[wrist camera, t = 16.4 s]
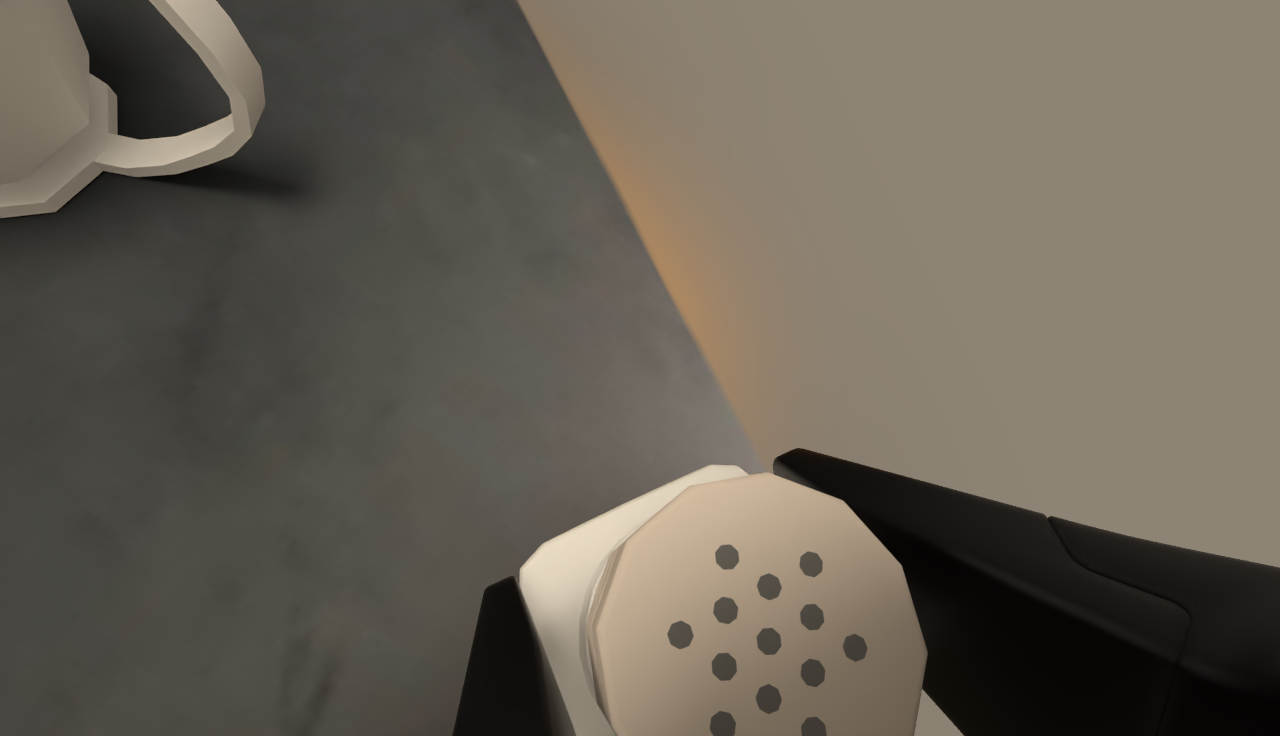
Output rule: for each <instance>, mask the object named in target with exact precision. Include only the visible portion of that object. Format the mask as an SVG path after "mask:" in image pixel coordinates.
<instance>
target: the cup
mask: <svg viewBox="0 0 1280 736" xmlns="http://www.w3.org/2000/svg"><path fill="white" fill-rule="evenodd" d="M149 1H150V2H151V3H152V4H153V5H154V6H155V7H156V9H157V10H158V11H159V12H160V13H161V14H162V15H163V16H164V17H165V18H166V20H167V21H168V22H169V23H170V24H171V25H172V26H173V27H174V28H175V29H176V31H177V32H178V33H179V34H180V35H181V36H182V37H183V38H184V39H185V40H186V42H187V43H188V44H189V45H190V46H191V47H192V48H193V49H194V50H195V52H196V53H197V54H198V55H199V56H200V58H201V59H202V61H203V62H204V63H205V65H206V66H207V67H208V69H209V70H210V72H211V73H212V74H213V76H214V77H215V78H216V80H217V81H218V83H219V84H220V85H221V87H222V88H223V89H224V91H225V92H226V94H227V95H228V96H229V99H230V105H231V111H232V113H231V114H230V115H229V116H227V117H225V118H223V119H221V120H218V121H216V122H214V123H211V124H209V125H207V126H204V127H202V128H199V129H196V130H193V131H190V132H188V133H185V134H182V135H179V136H174V137H164V138H154V139H143V140H138V139H134V138H129V137H125V136H120V135H118V127H117V95H116V94H115V93H114V92H113V91H112V89H111V88H110V87H109V86H108V85H107V84H106V83H104V82H103V81H101V80H100V79H98V78H96V77H95V76H93V75H92V74H90V73H89V53H88V50H87V48H86V46H85V43H84V41H83V38H82V36H81V33H80V31H79V28H78V26H77V23H76V21H75V19H74V16H73V14H72V11H71V9H70V6H69V4H68V1H67V0H0V218H7V217H16V216H25V215H33V214H42V213H51V212H56V211H57V210H59V209H60V208H61V207H62V206H63V205H64V204H65V203H67V202H68V201H69V200H70V199H71V198H72V197H74V196H75V195H76V194H77V193H78V192H79V191H81V190H82V189H83V188H84V187H85V186H86V185H88V184H89V183H90V182H91V181H92V180H93V179H95V178H96V177H97V176H98V175H99V174H100V173H102V172H103V171H107V172H112V173H117V174H122V175H128V176H133V177H145V176H159V175H173V174H179V173H182V172H185V171H189V170H192V169H196V168H199V167H203V166H206V165H209V164H212V163H214V162H217V161H220V160H222V159H225V158H228V157H230V156H233V155H234V154H235V153H236V152H237V151H238V150H239V149H240V148H241V147H242V146H243V145H244V144H245V143H246V142H247V141H248V140H249V139H250V138H251V137H252V134H253V132H254V130H255V128H256V125H257V123H258V121H259V118H260V116H261V114H262V111H263V109H264V107H265V96H264V88H263V79H262V71H261V67H260V66H259V64H258V62H257V61H256V59H255V57H254V56H253V54H252V52H251V51H250V49H249V48H248V46H247V44H246V43H245V41H244V39H243V38H242V36H241V35H240V33H239V31H238V30H237V28H236V26H235V25H234V23H233V21H232V20H231V18H230V17H229V16H228V15H227V14H226V12H225V11H224V10H223V9H222V7H221V6H220V5H219V4H218V2H217V1H216V0H149Z"/></svg>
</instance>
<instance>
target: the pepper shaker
mask: <svg viewBox="0 0 1280 736" xmlns="http://www.w3.org/2000/svg"><path fill="white" fill-rule="evenodd" d="M520 587H521V590H522V592H523V595H524V598H525V600H526V603H527V605H528V608H529V610H530V613H531V615H532V618H533V620H534V623H535V626H536V628H537V631H538V634H539V636H540V639H541V641H542V644H543V647H544V649H545V652H546V655H547V657H548V660H549V663H550V665H551V668H552V671H553V673H554V676H555V679H556V681H557V684H558V687H559V689H560V692H561V695H562V697H563V700H564V703H565V705H566V708H567V711H568V713H569V716H570V719H571V721H572V724H573V727H574V730H575V733H576V736H914V732H915V726H916V720H917V714H918V708H919V702H920V696H921V691H922V685H923V679H924V673H925V667H926V661H927V655H928V652H927V649H926V645H925V642H924V639H923V635H922V632H921V629H920V625H919V622H918V618H917V615H916V612H915V608H914V605H913V602H912V598H911V595H910V592H909V588H908V585H907V582H906V578H905V575H904V572H903V568H902V565H901V564H900V563H899V562H898V561H897V560H896V559H895V557H894V556H893V555H892V554H891V553H890V552H889V551H888V550H887V549H886V548H885V546H884V545H883V544H882V543H881V542H880V541H879V540H878V539H877V538H876V536H875V535H874V534H873V533H872V532H871V531H870V530H869V529H868V528H867V526H866V525H865V524H864V523H863V522H862V521H861V520H860V519H859V518H858V516H857V515H856V514H855V513H854V512H853V511H852V510H851V509H850V508H849V506H848V505H847V504H846V503H845V502H844V501H843V500H840V499H838V498H835V497H832V496H830V495H827V494H824V493H822V492H819V491H816V490H814V489H811V488H808V487H806V486H803V485H800V484H798V483H795V482H792V481H790V480H787V479H784V478H782V477H779V476H776V475H773V474H771V473H768V472H765V473H760V474H754V475H749V474H747V473H746V472H745V471H743V470H742V469H741V468H739V467H738V466H734V465H708V466H706V467H703V468H701V469H699V470H697V471H694V472H692V473H690V474H688V475H685V476H683V477H681V478H679V479H676V480H674V481H672V482H670V483H667V484H665V485H663V486H661V487H659V488H657V489H654V490H652V491H650V492H648V493H646V494H644V495H641V496H639V497H637V498H635V499H633V500H631V501H629V502H626V503H624V504H622V505H620V506H618V507H616V508H614V509H612V510H610V511H608V512H606V513H604V514H601V515H599V516H597V517H595V518H593V519H591V520H589V521H587V522H585V523H583V524H581V525H579V526H577V527H575V528H573V529H571V530H569V531H567V532H565V533H563V534H561V535H559V536H557V537H555V538H553V539H551V540H549V541H547V542H545V543H543V544H542V545H541V546H540V547H539V548H538V549H537V550H536V551H535V552H534V554H533V555H532V556H531V557H530V558H529V559H528V560H527V561H526V562H525V564H524V565H523V566H522V567H521V568H520Z"/></svg>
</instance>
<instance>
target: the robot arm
mask: <svg viewBox="0 0 1280 736" xmlns="http://www.w3.org/2000/svg"><path fill="white" fill-rule="evenodd" d="M773 470H774V475H776V476H779V477H782V478H784V479H787V480H790V481H792V482H795V483H798V484H800V485H803V486H806V487H808V488H811V489H814V490H816V491H819V492H822V493H824V494H827V495H830V496H832V497H835V498H838V499H840V500H843V501H844V502H845V503H846V504H847V505H848V506H849V508H850V509H851V510H852V511H853V512H854V513H855V514H856V515H857V516H858V518H859V519H860V520H861V521H862V522H863V523H864V524H865V525H866V526H867V528H868V529H869V530H870V531H871V532H872V533H873V534H874V535H875V536H876V538H877V539H878V540H879V541H880V542H881V543H882V544H883V545H884V546H885V548H886V549H887V550H888V551H889V552H890V553H891V554H892V555H893V556H894V557H895V559H896V560H897V561H898V562H899V563H900V564H901V565H902V568H903V572H904V575H905V578H906V582H907V585H908V588H909V592H910V595H911V598H912V602H913V605H914V608H915V612H916V615H917V618H918V622H919V625H920V629H921V632H922V635H923V639H924V642H925V645H926V649H927V652H928V655H927V661H926V667H925V673H924V679H923V685H922V689H923V690H924V691H925V692H926V693H927V695H928V696H929V697H930V698H931V699H932V700H933V701H934V702H935V703H936V705H937V706H938V707H939V708H940V709H941V710H942V711H943V712H944V714H946V716H947V717H948V718H949V719H950V720H951V721H952V722H953V724H954V725H955V726H956V727H957V728H958V729H959V730H960V732H961V733H962V734H963V735H964V736H1280V568H1278V567H1274V566H1269V565H1264V564H1259V563H1254V562H1249V561H1244V560H1240V559H1234V558H1229V557H1225V556H1220V555H1214V554H1210V553H1205V552H1200V551H1195V550H1190V549H1186V548H1181V547H1176V546H1171V545H1167V544H1162V543H1158V542H1153V541H1149V540H1144V539H1140V538H1135V537H1131V536H1126V535H1122V534H1119V533H1115V532H1110V531H1107V530H1103V529H1098V528H1095V527H1091V526H1087V525H1083V524H1079V523H1076V522H1072V521H1068V520H1064V519H1061V518H1057V517H1053V516H1050V517H1048V518H1047V517H1046V516H1045V515H1044V514H1042V513H1038V512H1034V511H1030V510H1027V509H1023V508H1019V507H1016V506H1012V505H1009V504H1005V503H1001V502H998V501H994V500H990V499H986V498H982V497H979V496H975V495H972V494H968V493H964V492H961V491H957V490H953V489H950V488H946V487H942V486H939V485H935V484H931V483H927V482H924V481H920V480H916V479H912V478H909V477H905V476H902V475H898V474H894V473H891V472H887V471H883V470H880V469H876V468H872V467H868V466H865V465H861V464H858V463H854V462H850V461H847V460H843V459H839V458H835V457H832V456H828V455H824V454H821V453H817V452H813V451H810V450H806V449H800V448H797V449H794V450H791V451H789V452H787V453H785V454H782V455H781V456H778V457H777V458H776V459H775V460H774V464H773ZM452 736H576V733H575V730H574V727H573V724H572V721H571V719H570V716H569V713H568V711H567V708H566V705H565V703H564V700H563V697H562V695H561V692H560V689H559V687H558V684H557V681H556V679H555V676H554V673H553V671H552V668H551V665H550V663H549V660H548V657H547V655H546V652H545V649H544V647H543V644H542V641H541V639H540V636H539V634H538V631H537V628H536V626H535V623H534V620H533V618H532V615H531V613H530V610H529V608H528V605H527V603H526V600H525V598H524V595H523V592H522V590H521V587H520V585H519V582H518V580H517V578H516V577H514V576H510V577H508V578H505V579H503V580H501V581H499V582H497V583H494V584H492V585H490V586H488V587H487V588H486V589H485V591H484V594H483V599H482V603H481V608H480V613H479V617H478V622H477V626H476V631H475V635H474V640H473V644H472V649H471V653H470V658H469V663H468V667H467V672H466V676H465V681H464V685H463V690H462V694H461V699H460V704H459V708H458V713H457V717H456V722H455V726H454V731H453V735H452Z"/></svg>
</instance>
